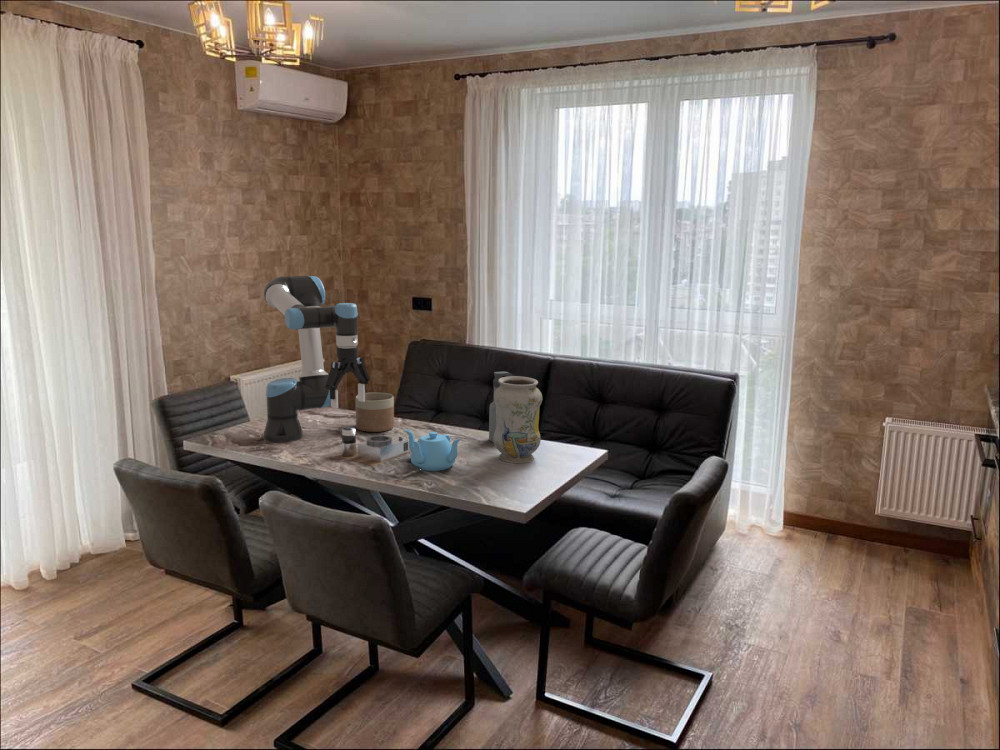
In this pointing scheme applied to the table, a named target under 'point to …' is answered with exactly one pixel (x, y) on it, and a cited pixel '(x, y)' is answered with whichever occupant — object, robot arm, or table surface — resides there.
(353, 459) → the board
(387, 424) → the planter
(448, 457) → the teapot
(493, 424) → the water bottle
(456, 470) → the table surface
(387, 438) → the camera body
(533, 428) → the vase
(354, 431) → the lens
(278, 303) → the robot arm
